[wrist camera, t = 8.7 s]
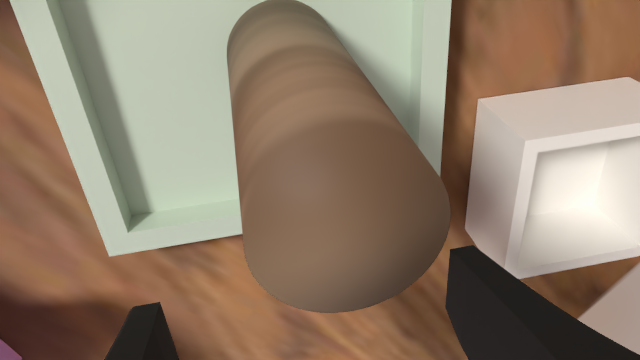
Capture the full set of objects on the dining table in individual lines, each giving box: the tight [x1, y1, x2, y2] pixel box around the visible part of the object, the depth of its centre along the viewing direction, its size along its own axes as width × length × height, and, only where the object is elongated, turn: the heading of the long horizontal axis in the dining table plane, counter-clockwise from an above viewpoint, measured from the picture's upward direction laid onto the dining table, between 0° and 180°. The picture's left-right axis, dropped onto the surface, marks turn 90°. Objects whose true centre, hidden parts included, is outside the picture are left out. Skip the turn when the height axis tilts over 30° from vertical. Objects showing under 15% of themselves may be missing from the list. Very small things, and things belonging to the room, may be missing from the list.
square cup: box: [465, 77, 640, 279], centre depth 23 cm, size 7×7×4 cm
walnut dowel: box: [227, 0, 451, 313], centre depth 14 cm, size 4×4×11 cm
